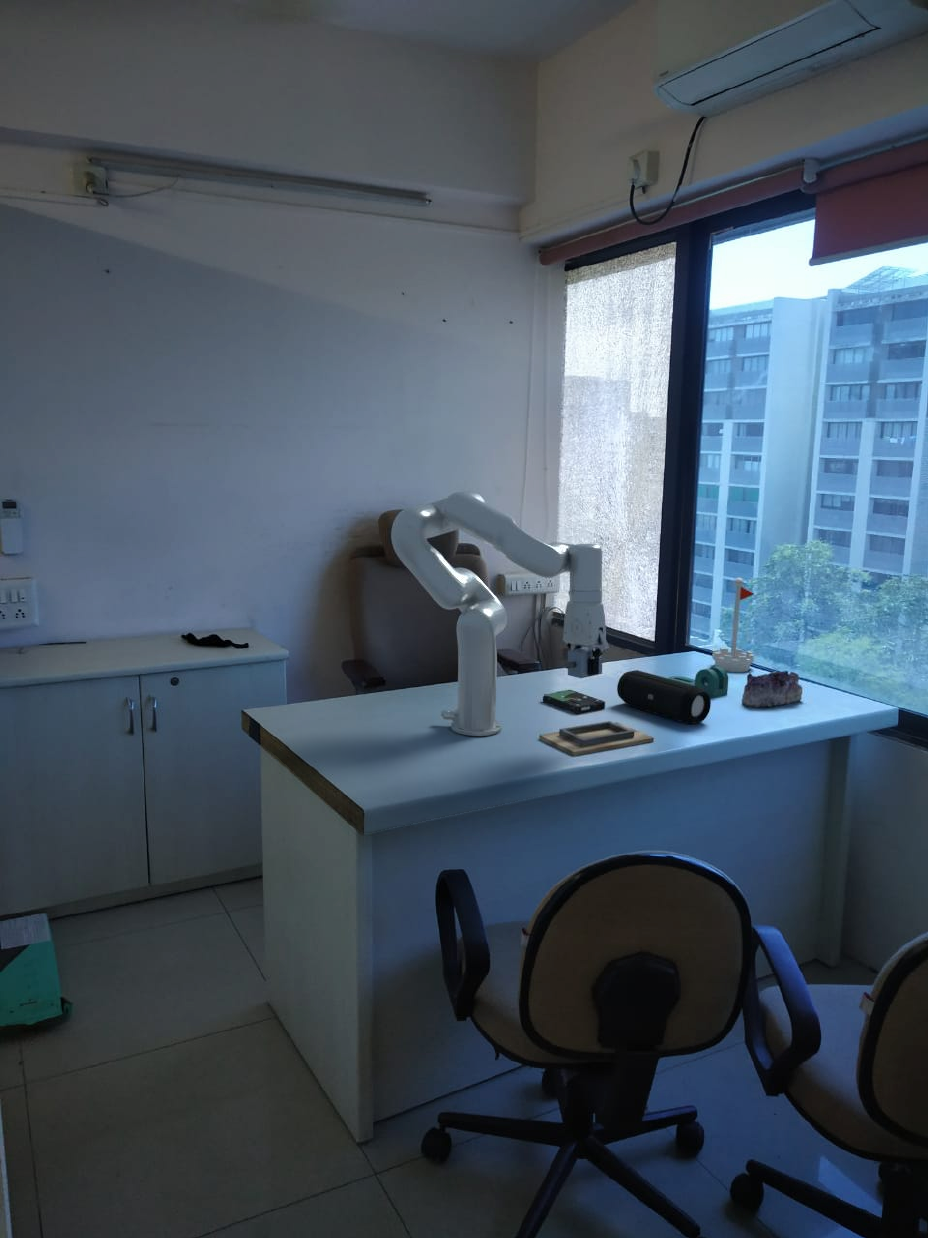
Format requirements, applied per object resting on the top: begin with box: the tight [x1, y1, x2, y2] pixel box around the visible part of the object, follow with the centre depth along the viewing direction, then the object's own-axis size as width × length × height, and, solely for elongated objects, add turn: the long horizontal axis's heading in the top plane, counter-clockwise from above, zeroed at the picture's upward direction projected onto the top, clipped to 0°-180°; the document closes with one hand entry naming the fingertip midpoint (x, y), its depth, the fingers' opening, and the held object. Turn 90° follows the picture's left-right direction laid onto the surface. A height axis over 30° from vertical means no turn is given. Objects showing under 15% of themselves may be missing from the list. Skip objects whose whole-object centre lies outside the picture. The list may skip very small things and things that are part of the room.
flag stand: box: [711, 577, 755, 673], centre depth 298 cm, size 13×13×30 cm
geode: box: [741, 670, 803, 709], centre depth 260 cm, size 20×12×10 cm, turn 127°
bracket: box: [667, 666, 729, 699], centre depth 272 cm, size 18×7×8 cm, turn 40°
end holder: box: [539, 720, 655, 757], centre depth 223 cm, size 14×24×2 cm, turn 120°
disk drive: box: [542, 689, 606, 715], centre depth 253 cm, size 10×3×15 cm
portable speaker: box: [616, 669, 712, 725], centre depth 246 cm, size 26×10×10 cm, turn 37°
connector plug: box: [564, 646, 603, 679], centre depth 218 cm, size 4×11×6 cm, turn 127°
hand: (585, 671), depth 218 cm, fingers closed on connector plug, 4 cm apart
